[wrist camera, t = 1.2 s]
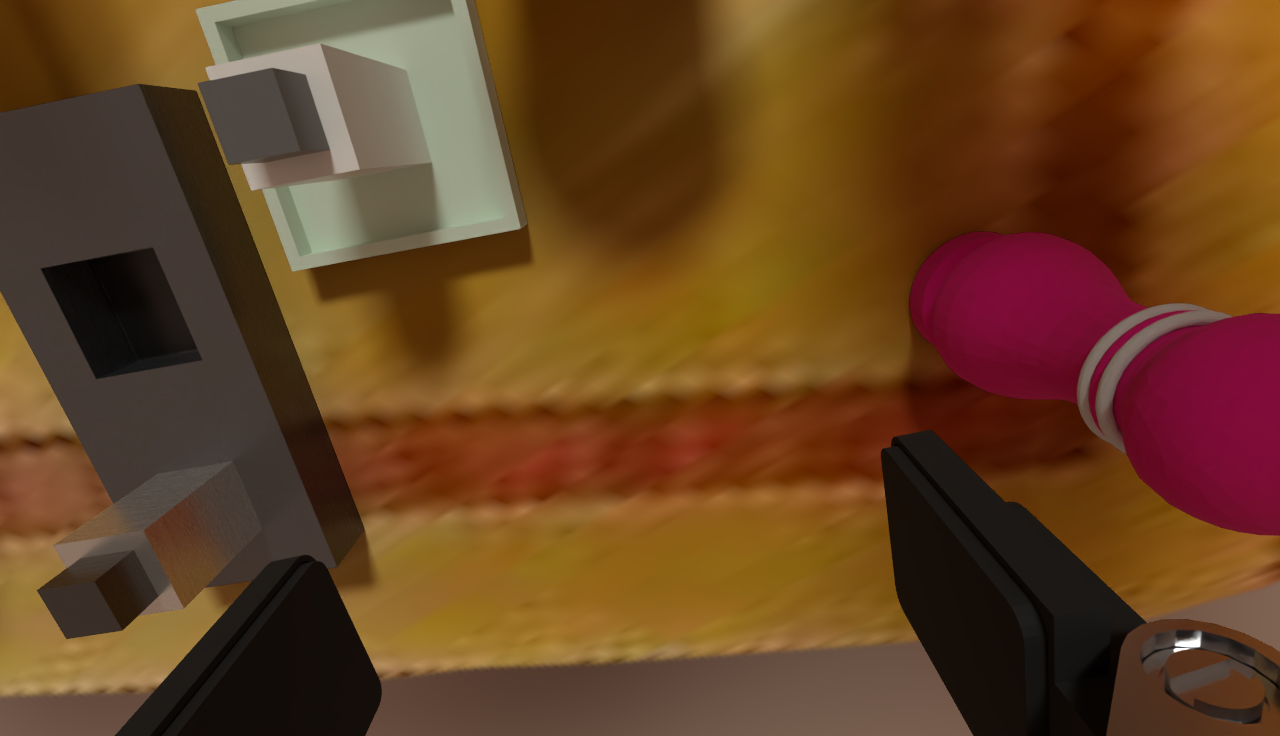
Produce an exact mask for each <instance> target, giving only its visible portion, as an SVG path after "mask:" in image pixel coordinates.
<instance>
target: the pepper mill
mask: <svg viewBox="0 0 1280 736" xmlns="http://www.w3.org/2000/svg"><path fill="white" fill-rule="evenodd" d="M910 311H911V315H912V320H913V322H914V324H915V326H916V328H917V330H918V331H919V333H920V334H921V335H922V337H924V338H925V339H926V340H927V341H928V342H929V343H931V344H932V345H934V346H935V347H936V348H937V351H938V353H939V354H940V356H941V357H942V359H943V360H944V362H945V363H946V365H947V366H948V367H949V368H950V369H951V370H952V371H953V372H954V373H955V374H956V375H958V376H959V377H960V378H962V379H964V380H966V381H967V382H969V383H971V384H973V385H975V386H977V387H979V388H981V389H983V390H985V391H987V392H990V393H994V394H997V395H1002V396H1007V397H1012V398H1018V399H1060V400H1065V401H1069V402H1073V403H1075V404H1077V405H1078V407H1079V410H1080V414H1081V416H1082V418H1083V420H1084V422H1085V423H1086V425H1087V426H1088V427H1089V429H1090V430H1091V431H1092V432H1093V433H1095V434H1096V435H1097V436H1098V437H1100V438H1101V439H1103V440H1105V441H1106V442H1108V443H1110V444H1112V445H1113V446H1114V447H1116V448H1117V449H1119V450H1120V451H1121V452H1123V453H1125V454H1127V456H1128V458H1129V460H1130V462H1131V464H1132V466H1133V468H1134V469H1135V471H1136V473H1137V474H1138V476H1139V477H1140V479H1142V480H1143V481H1144V482H1145V483H1146V484H1147V485H1148V486H1149V487H1151V488H1152V489H1153V490H1154V491H1155V492H1156V493H1157V494H1159V495H1160V496H1161V497H1162V498H1163V499H1164V500H1165V501H1167V502H1168V503H1169V504H1170V505H1172V506H1174V507H1176V508H1178V509H1180V510H1181V511H1183V512H1185V513H1187V514H1189V515H1191V516H1193V517H1195V518H1197V519H1200V520H1202V521H1205V522H1208V523H1210V524H1213V525H1216V526H1218V527H1221V528H1225V529H1229V530H1233V531H1237V532H1243V533H1250V534H1256V535H1279V536H1280V314H1266V313H1254V314H1248V315H1242V316H1236V317H1234V316H1231V315H1228V314H1225V313H1221V312H1216V311H1211V310H1209V309H1207V308H1204V307H1201V306H1197V305H1192V304H1183V303H1172V304H1164V305H1158V306H1154V307H1150V308H1147V307H1145V306H1142V305H1139V304H1137V303H1134V302H1133V301H1132V300H1131V299H1130V298H1129V297H1128V295H1127V294H1126V292H1125V291H1124V289H1123V287H1122V286H1121V284H1120V283H1119V281H1118V279H1117V278H1116V277H1115V275H1114V274H1113V273H1112V271H1111V270H1110V269H1109V268H1108V267H1107V266H1106V265H1105V264H1104V263H1103V262H1102V261H1101V260H1099V259H1098V258H1097V257H1096V256H1095V255H1094V254H1093V253H1091V252H1090V251H1089V250H1087V249H1085V248H1084V247H1082V246H1080V245H1078V244H1076V243H1074V242H1071V241H1069V240H1066V239H1064V238H1061V237H1058V236H1054V235H1051V234H1046V233H1038V232H1024V233H1016V234H1009V235H1002V234H998V233H993V232H973V233H968V234H964V235H961V236H958V237H956V238H954V239H952V240H950V241H948V242H946V243H945V244H943V245H941V246H940V247H939V248H938V249H937V250H935V251H934V252H933V253H932V254H931V255H930V256H929V257H928V258H927V260H926V261H925V262H924V263H923V265H922V266H921V268H920V269H919V271H918V273H917V275H916V277H915V279H914V281H913V284H912V289H911V294H910Z"/></svg>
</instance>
